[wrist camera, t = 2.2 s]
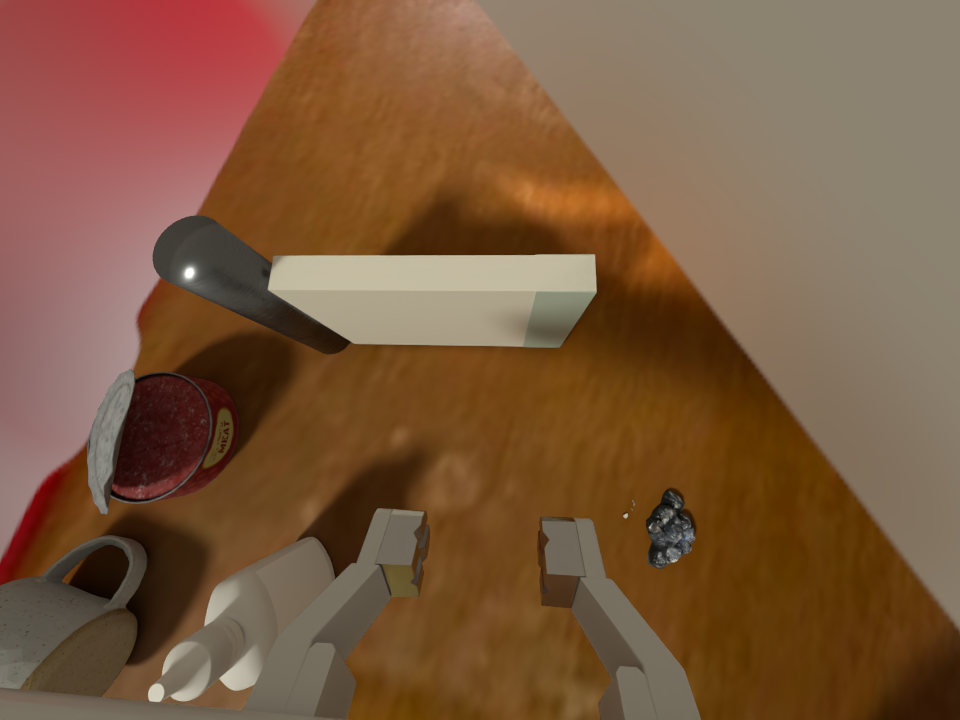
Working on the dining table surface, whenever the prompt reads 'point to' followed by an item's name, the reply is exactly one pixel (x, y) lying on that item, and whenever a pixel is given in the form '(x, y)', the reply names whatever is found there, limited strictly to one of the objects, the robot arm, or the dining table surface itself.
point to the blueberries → (668, 531)
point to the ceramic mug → (68, 627)
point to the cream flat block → (441, 297)
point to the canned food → (159, 438)
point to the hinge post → (234, 280)
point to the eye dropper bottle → (245, 622)
